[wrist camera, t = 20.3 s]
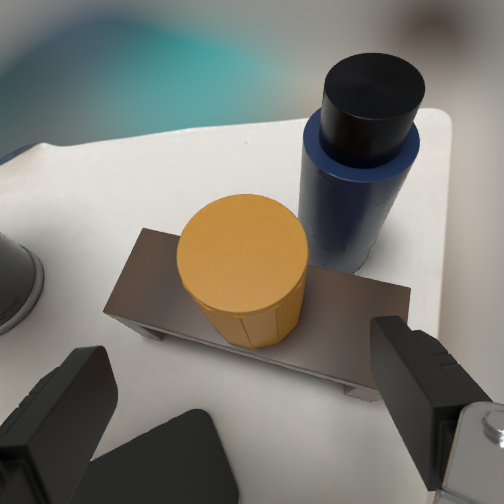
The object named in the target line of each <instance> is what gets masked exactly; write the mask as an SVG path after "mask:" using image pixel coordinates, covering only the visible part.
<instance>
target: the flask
mask: <svg viewBox="0 0 504 504" xmlns="http://www.w3.org/2000/svg"><path fill="white" fill-rule="evenodd" d="M424 94H425V82H424V79H423V77H422V75H421V74H420V72H419V71H418V70H417V69H416V68H415V67H414V66H413V65H412V64H410V63H409V62H407V61H405V60H403V59H401V58H399V57H396V56H393V55H389V54H382V53H362V54H358V55H354V56H350V57H348V58H345V59H343V60H341V61H340V62H338V63H337V64H336V65H334V66H333V68H331V70H330V71H329V72H328V74H327V76H326V79H325V84H324V92H323V101H322V107H321V108H320V109H318V110H317V111H316V112H315V113H314V114H313V115H312V116H311V117H310V118H309V120H308V122H307V123H306V126H305V128H304V133H303V146H302V162H301V177H300V193H299V209H298V220H299V222H300V223H301V225H302V227H303V229H304V231H305V234H306V238H307V243H308V248H309V253H310V254H309V260H308V265H311V266H315V267H320V268H324V269H328V270H333V271H337V272H342V273H346V274H353V273H354V272H356V271H357V270H358V269H359V268H360V267H361V266H362V265H363V263H364V262H365V260H366V258H367V256H368V254H369V252H370V250H371V248H372V246H373V244H374V242H375V240H376V238H377V236H378V234H379V232H380V230H381V228H382V226H383V223H384V221H385V219H386V217H387V215H388V213H389V211H390V209H391V207H392V205H393V203H394V201H395V199H396V197H397V195H398V193H399V191H400V189H401V187H402V185H403V183H404V181H405V179H406V177H407V175H408V173H409V171H410V169H411V167H412V165H413V163H414V161H415V159H416V156H417V154H418V151H419V147H420V138H419V133H418V130H417V128H416V126H415V124H414V122H413V121H414V118H415V116H416V114H417V111H418V109H419V106H420V104H421V102H422V99H423V97H424Z"/></svg>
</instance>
